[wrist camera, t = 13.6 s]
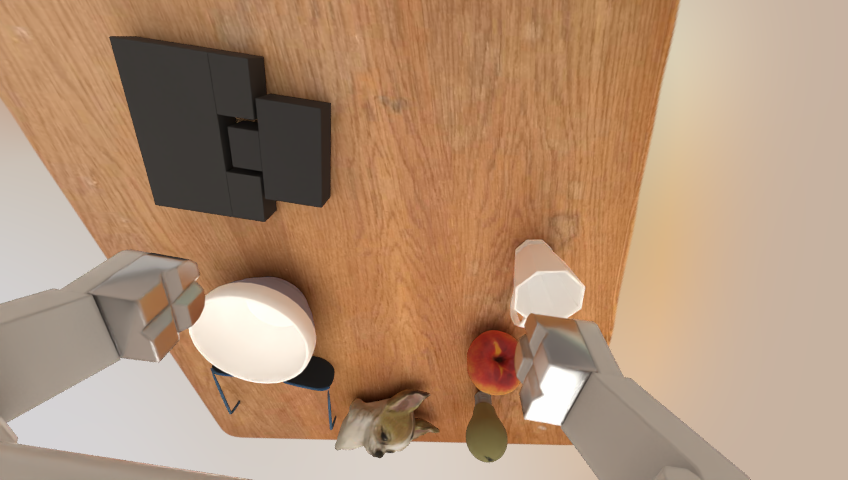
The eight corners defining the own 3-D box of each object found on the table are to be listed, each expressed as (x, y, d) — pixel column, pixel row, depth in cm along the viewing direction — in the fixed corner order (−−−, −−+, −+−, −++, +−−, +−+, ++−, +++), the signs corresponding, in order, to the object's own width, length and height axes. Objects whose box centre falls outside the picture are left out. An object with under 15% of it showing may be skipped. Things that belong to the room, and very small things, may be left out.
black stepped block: (239, 88, 34) (222, 92, 32) (330, 103, 34) (320, 108, 32) (250, 183, 39) (236, 194, 37) (330, 196, 39) (321, 207, 37)
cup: (575, 239, 40) (601, 282, 33) (534, 303, 45) (549, 352, 38) (518, 220, 39) (532, 259, 32) (483, 287, 44) (488, 333, 37)
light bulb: (508, 387, 53) (518, 455, 44) (489, 407, 56) (496, 475, 47) (475, 375, 52) (479, 442, 44) (458, 396, 55) (458, 463, 46)
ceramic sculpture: (320, 439, 48) (429, 429, 46) (335, 384, 55) (429, 374, 54) (342, 480, 53) (441, 472, 52) (353, 425, 61) (439, 417, 59)
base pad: (135, 36, 33) (108, 36, 30) (263, 56, 33) (247, 58, 30) (174, 194, 41) (155, 205, 38) (276, 210, 41) (264, 222, 38)
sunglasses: (339, 359, 53) (328, 390, 49) (340, 407, 62) (332, 436, 58) (225, 341, 53) (205, 371, 49) (243, 391, 62) (228, 420, 58)
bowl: (215, 248, 44) (173, 285, 38) (329, 265, 44) (307, 305, 38) (232, 332, 51) (200, 375, 45) (330, 346, 52) (312, 391, 45)
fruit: (534, 332, 47) (548, 382, 40) (502, 367, 51) (509, 419, 44) (483, 310, 46) (488, 358, 39) (454, 348, 50) (454, 398, 43)
